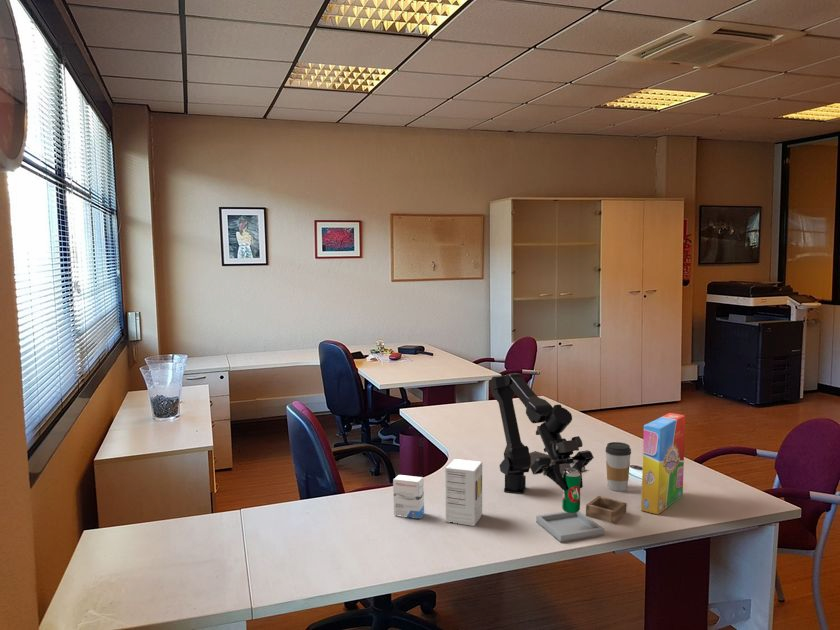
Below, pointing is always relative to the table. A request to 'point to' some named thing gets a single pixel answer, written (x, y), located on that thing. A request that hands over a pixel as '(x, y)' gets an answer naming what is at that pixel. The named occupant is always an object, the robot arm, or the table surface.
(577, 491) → the soda can
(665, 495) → the game box
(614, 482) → the coffee cup
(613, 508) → the walnut cup-holder
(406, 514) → the ink box
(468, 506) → the supplement box
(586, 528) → the grey tray
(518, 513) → the table surface
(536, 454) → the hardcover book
